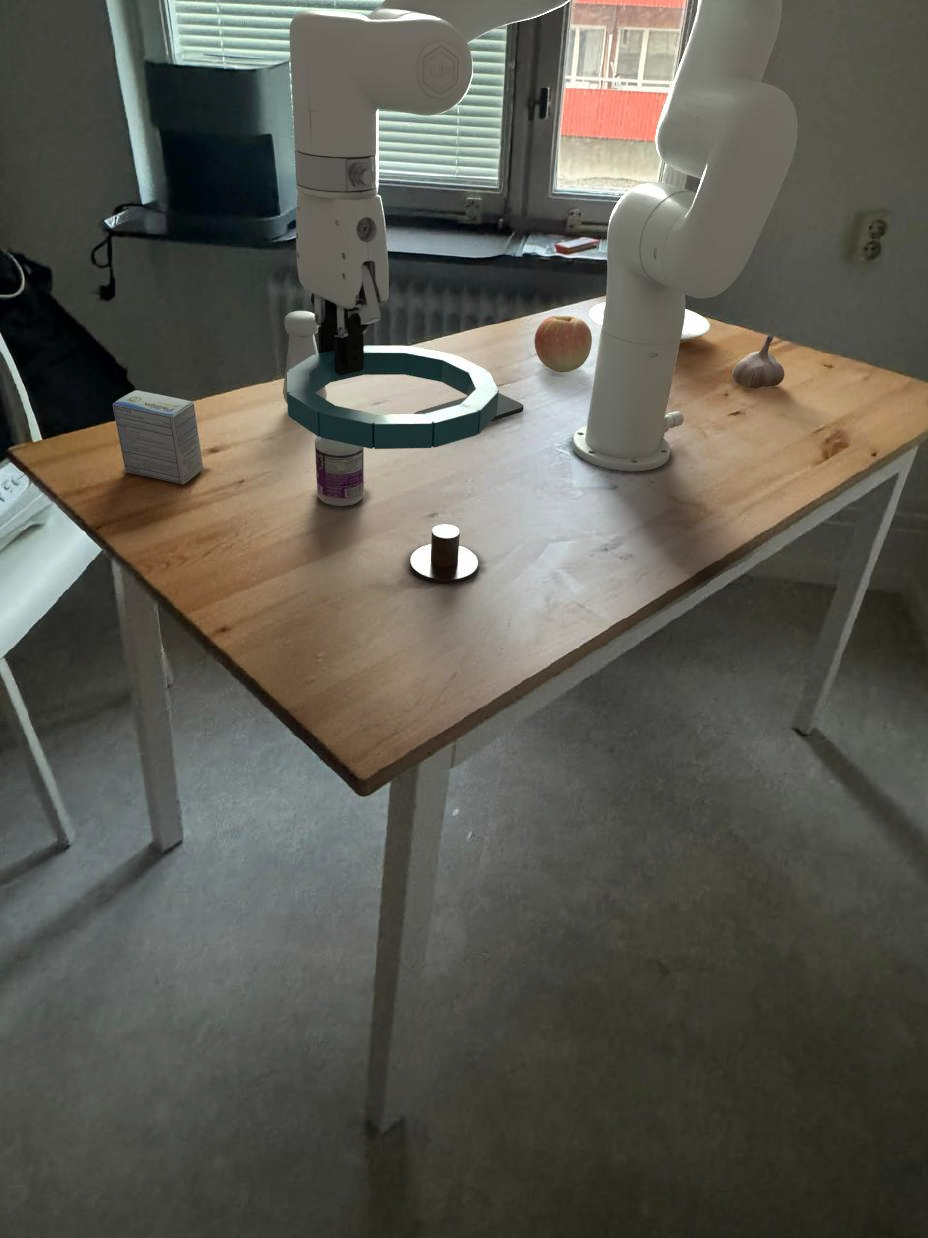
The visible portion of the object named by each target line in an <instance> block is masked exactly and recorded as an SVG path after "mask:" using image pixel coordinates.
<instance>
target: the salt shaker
mask: <svg viewBox="0 0 928 1238" xmlns="http://www.w3.org/2000/svg"><path fill="white" fill-rule="evenodd" d="M283 323H284V329H285V332H286V333H287V334H289V338H288V346H287V353H286V354H287V355H286V361H285V371H284V379H283V388H282V394H283V395H282V396H283V398H284V401H285V402H286V404H287V376H286V372H287V371H288V370H290V369H291V368H293V367H294V366H296V365H298V364H299V363H301V362H302V361H304V360H306V359H307V358H309V357H310V356H312V355H314V354H319V350H318V346H317V341H316V337H315V336H316V334H318V327H320V326H318V325H317V324H316V322H315V313H313V312H311V311H307V310H295V311H291V312H289V313H287V315H286V316H284V322H283ZM316 394H317V395H319V396H321V397H322V398H324V399H326V400H327V397H328V392H327V389H326V386H324V387H323V388H322V389H320V390H319V391H317V392H316Z"/></svg>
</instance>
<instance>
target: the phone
mask: <svg viewBox="0 0 928 1238" xmlns="http://www.w3.org/2000/svg"><path fill="white" fill-rule="evenodd" d="M467 397H468V396H464V397H461V398H458V399H454V400H452V401H447V402H445V403H442V404H437V405H434V406H431V407H428V408H424V409H420V410H417V411H415V412H414V413H413V414H426V413H430V412H434V411H438V410H441V409H445V408H449V407H453V406H456V405H460V404H461V403H462V402H463V401H464V400H465V399H466V398H467ZM524 407H525V406H524V404H523V403H521V402H520V401H517V400H515V399H513V398H511V397H509V396H507V395H504V394H502V393H500V392H499V394H498V406H497V415H496V416H495V417H494V418H493V419H492V420H491V421H490V423H492V422H496V421H500V420H503V419H505V418H508V417H512V416H514V415H517V414H521V413H522V412H524Z"/></svg>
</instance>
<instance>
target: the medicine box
mask: <svg viewBox="0 0 928 1238" xmlns="http://www.w3.org/2000/svg"><path fill="white" fill-rule="evenodd" d="M112 409H113V414H114V420H115V425H116V431H117V436H118V440H119V441H118V442H119V446H120V451H121V457H122V462H123V466H124V467H123V468H124V471H125V472H126V473H129V474H135V475H138V476H143V477H147V478H148V477H149V478H152V479H157V480H161V481H166V482H169V483H175V484H180V485H182V486H183V485H186V484H187V483H188V482H189V481H191V480H192V479H193V478H195V476H197V475H198V474H199V473H201V472H202V471H203V470H204V464H203V463H204V462H203V456H202V448H201V442H200V435H199V428H198V422H197V421H198V420H197V413H196V408H195V402H193V401H192V400H187V399H182V398H177V397H173V396H168V395H163V394H158V393H152V392H147V391H143V390H133V391H131V392H129V393H127V394H125V395H124V396H122V397H120V398H119V399H117V400H116V401H115V402H113V403H112Z"/></svg>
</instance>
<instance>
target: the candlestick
mask: <svg viewBox="0 0 928 1238" xmlns="http://www.w3.org/2000/svg"><path fill="white" fill-rule="evenodd" d="M687 178H688V175H687V174H684V173H682V172H679V171H677V170H675V169H673V168H672V167H670V166H668V165H667V164H666V163H665V162H664V167H663V172H662V178H661V182H662V183H667V184H672V185H675V186H678V187H681V188H684V189H686V186H687ZM604 309H605V302H603V303H600V304H596V305H595V306H593V307H592V308H591V309H590V310H589V317H590V318H591V320H592V322H594V323H595V324H597V325H599V326H600V327H602V323H603V316H604ZM710 330H711V323H710V322H709V321H708V319H706V317H704V316H702V315H701V314H698V313H697V312H695V311H692V310H689V309H686V308H685V320H684V326H683V331H682V336H681V340H680V344H683V343H685V342H688V341H691V340H692V339H695V338H699V337H702V336H704V335H706V334H707V333H709V332H710Z"/></svg>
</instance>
